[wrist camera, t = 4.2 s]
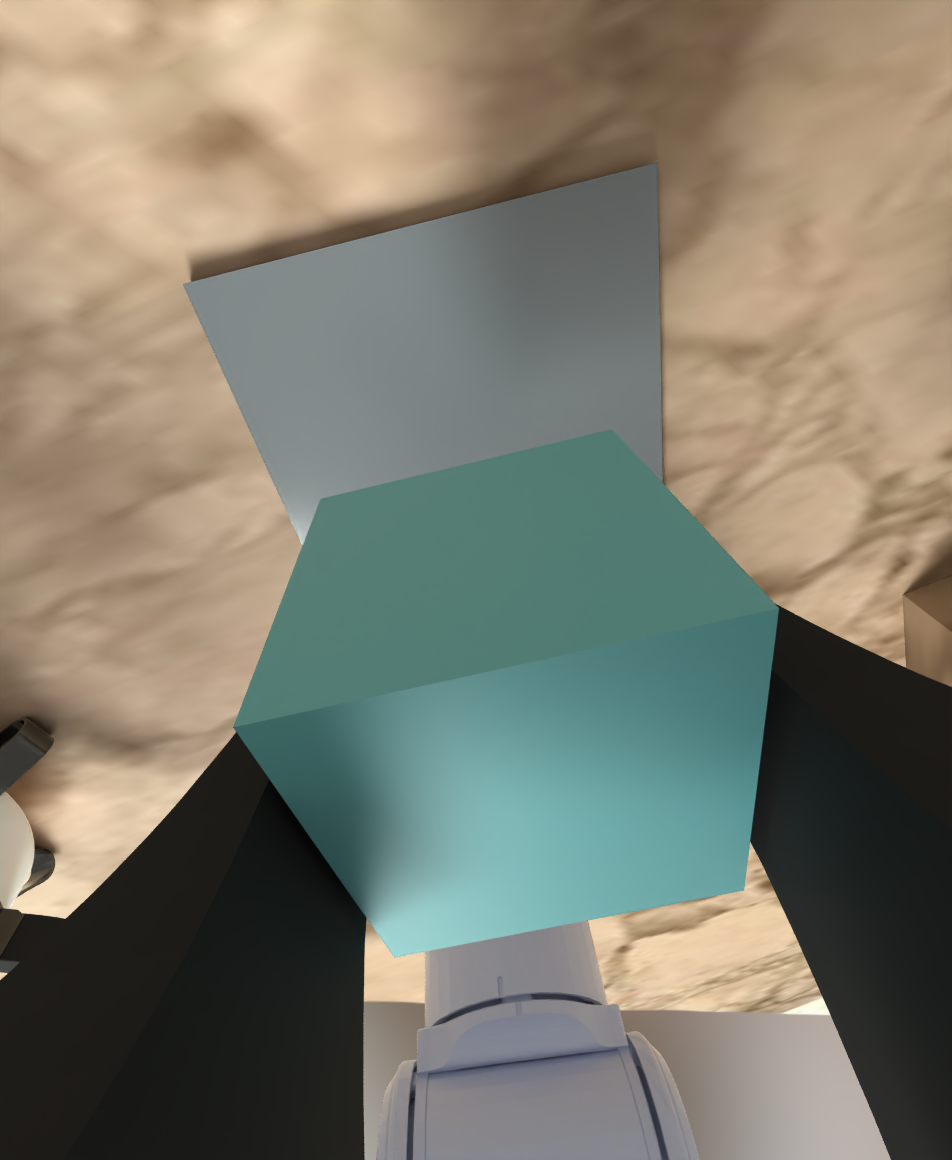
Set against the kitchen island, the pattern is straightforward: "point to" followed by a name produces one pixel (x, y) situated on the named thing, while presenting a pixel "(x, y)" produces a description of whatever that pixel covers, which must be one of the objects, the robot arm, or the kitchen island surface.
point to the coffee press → (20, 846)
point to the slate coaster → (448, 340)
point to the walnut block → (929, 630)
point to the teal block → (516, 696)
